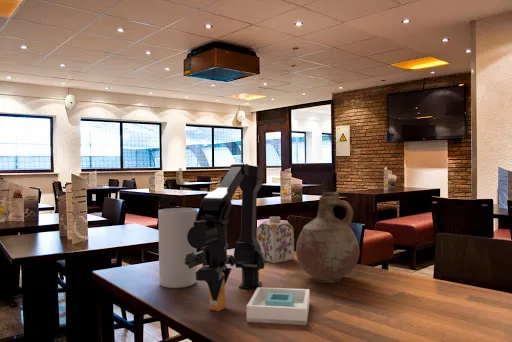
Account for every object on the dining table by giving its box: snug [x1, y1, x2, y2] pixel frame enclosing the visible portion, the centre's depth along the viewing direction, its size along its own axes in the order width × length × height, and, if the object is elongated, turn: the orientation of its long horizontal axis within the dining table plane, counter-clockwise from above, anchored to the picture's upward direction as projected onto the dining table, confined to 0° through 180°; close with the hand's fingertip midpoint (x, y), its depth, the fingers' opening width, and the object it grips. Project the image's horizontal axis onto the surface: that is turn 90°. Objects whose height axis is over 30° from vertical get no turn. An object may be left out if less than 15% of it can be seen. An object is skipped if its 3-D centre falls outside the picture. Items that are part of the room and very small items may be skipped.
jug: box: [295, 191, 361, 284], centre depth 137 cm, size 22×22×30 cm
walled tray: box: [246, 286, 311, 326], centre depth 107 cm, size 16×15×4 cm
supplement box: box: [208, 272, 227, 312], centre depth 110 cm, size 3×3×10 cm
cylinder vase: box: [157, 207, 198, 289], centre depth 136 cm, size 12×12×25 cm
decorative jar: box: [256, 216, 295, 264], centre depth 169 cm, size 12×12×18 cm
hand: (217, 297), depth 110 cm, fingers closed on supplement box, 4 cm apart
